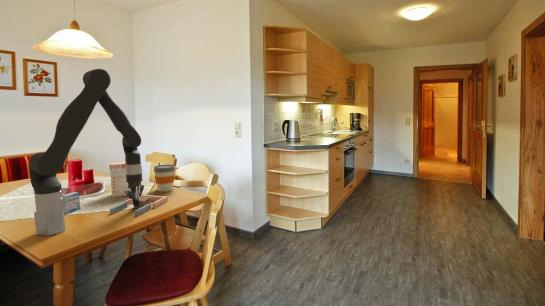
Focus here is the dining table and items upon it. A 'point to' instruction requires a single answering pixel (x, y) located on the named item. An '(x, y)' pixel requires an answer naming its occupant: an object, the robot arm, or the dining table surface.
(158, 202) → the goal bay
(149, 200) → the walnut block
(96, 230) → the dining table surface
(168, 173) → the reusable coffee cup
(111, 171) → the coffeecake box
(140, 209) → the channel
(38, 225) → the robot arm
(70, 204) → the medicine box
